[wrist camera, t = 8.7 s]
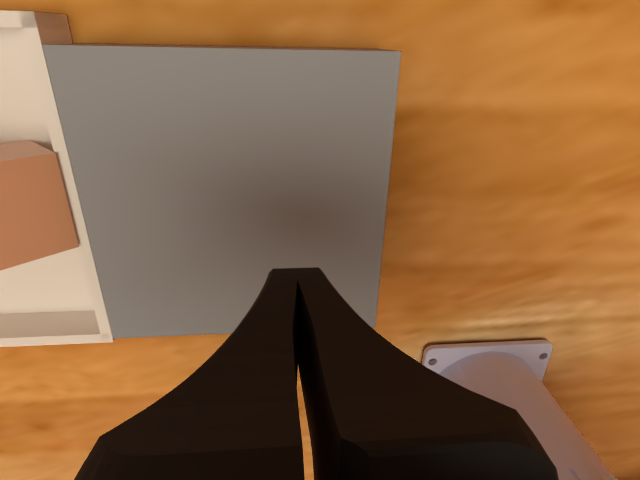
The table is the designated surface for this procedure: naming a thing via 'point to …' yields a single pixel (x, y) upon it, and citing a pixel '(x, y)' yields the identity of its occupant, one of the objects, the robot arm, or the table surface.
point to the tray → (46, 130)
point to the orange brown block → (32, 205)
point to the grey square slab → (226, 173)
